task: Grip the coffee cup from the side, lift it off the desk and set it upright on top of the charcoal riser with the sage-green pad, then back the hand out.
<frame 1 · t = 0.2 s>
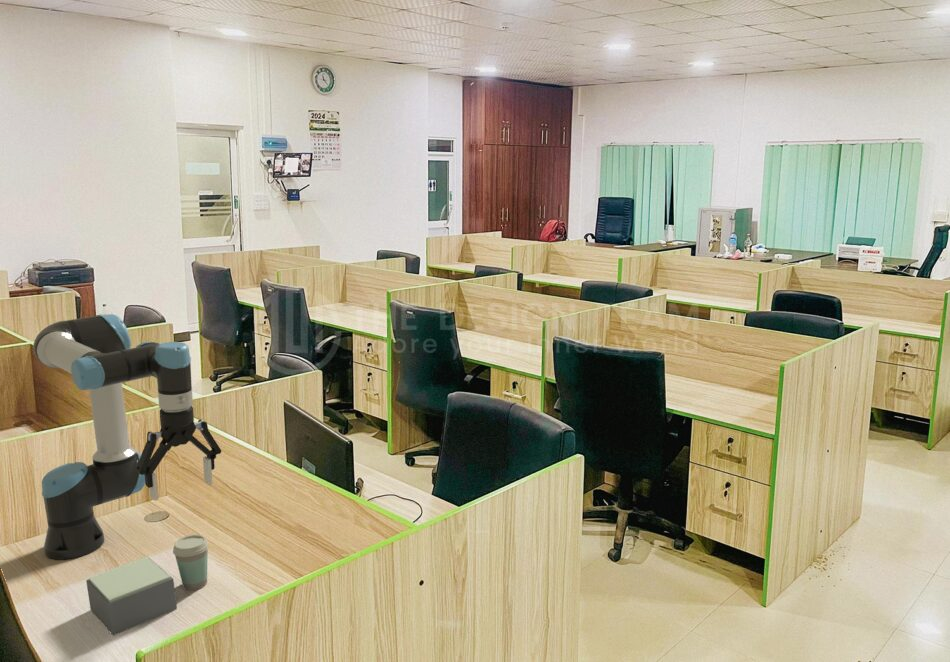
hand: (181, 490, 188), 27 cm above the table, tool pointing down, fingers open, 13 cm apart
coffee cup: (195, 585, 198), on the table
riser: (133, 609, 188), on the table
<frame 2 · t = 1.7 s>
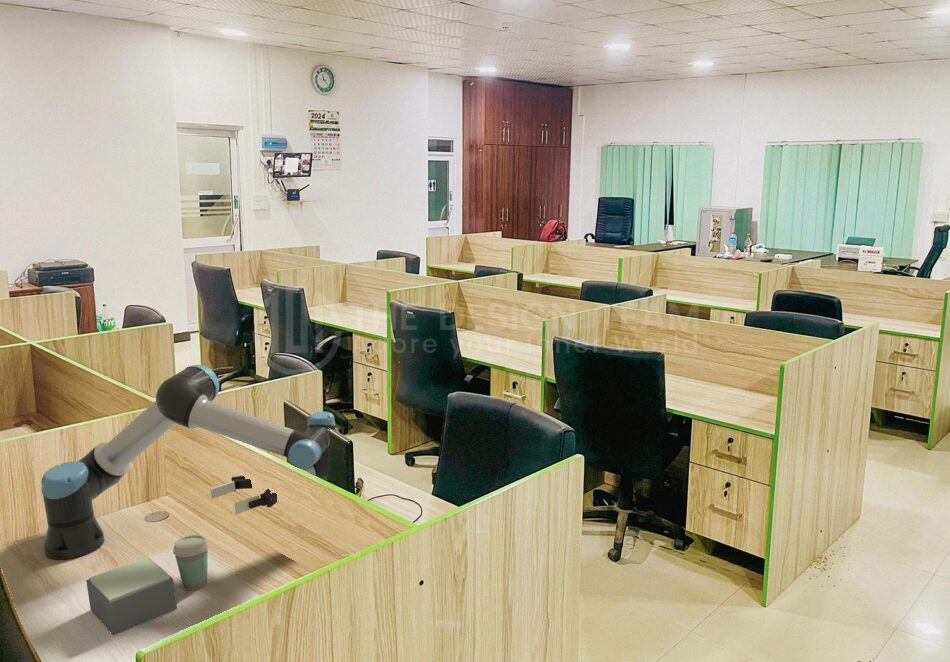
hand: (223, 501, 200), 20 cm above the table, tool horizontal, fingers open, 13 cm apart
nothing on the table moved.
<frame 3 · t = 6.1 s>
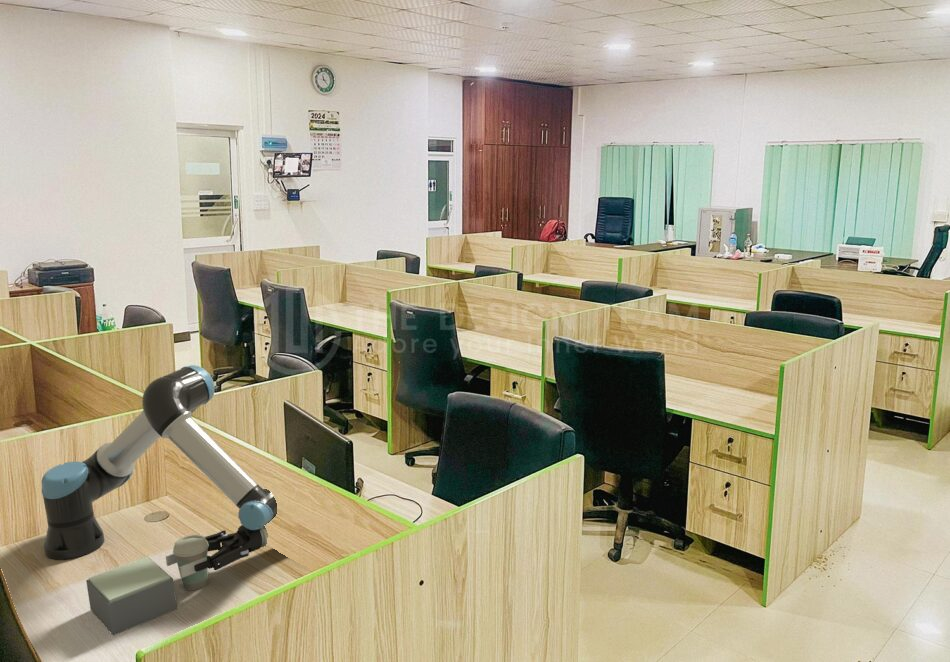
hand: (173, 566, 193), 7 cm above the table, tool horizontal, fingers closed on coffee cup, 8 cm apart
coffee cup: (195, 585, 198), on the table, touching gripper
when the fingers open (17 cm above the table, at t = 11.2 s): coffee cup drops 1 cm, resting on riser.
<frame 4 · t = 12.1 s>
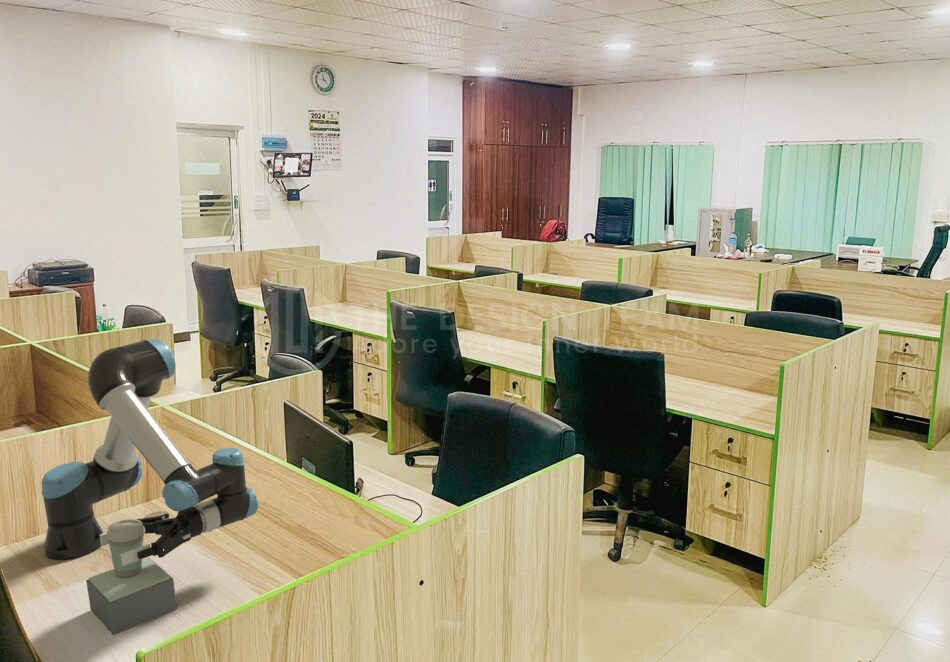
hand: (110, 549, 182), 17 cm above the table, tool horizontal, fingers open, 13 cm apart
coffee cup: (128, 572, 188), point 9 cm above the table, touching gripper, riser
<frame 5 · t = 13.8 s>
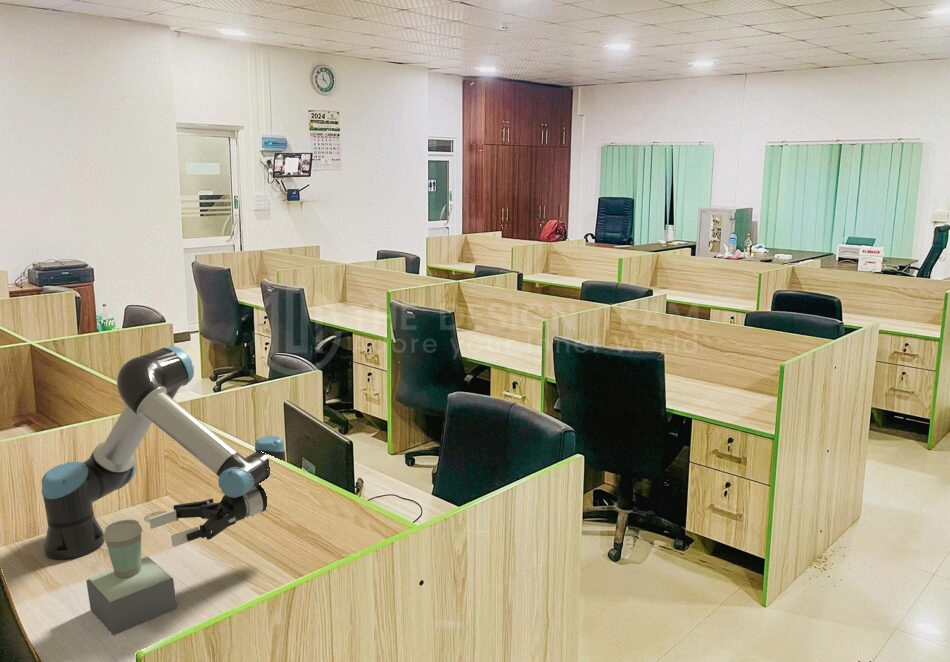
hand: (160, 532, 190), 17 cm above the table, tool horizontal, fingers open, 13 cm apart
coffee cup: (128, 572, 188), point 8 cm above the table, touching riser
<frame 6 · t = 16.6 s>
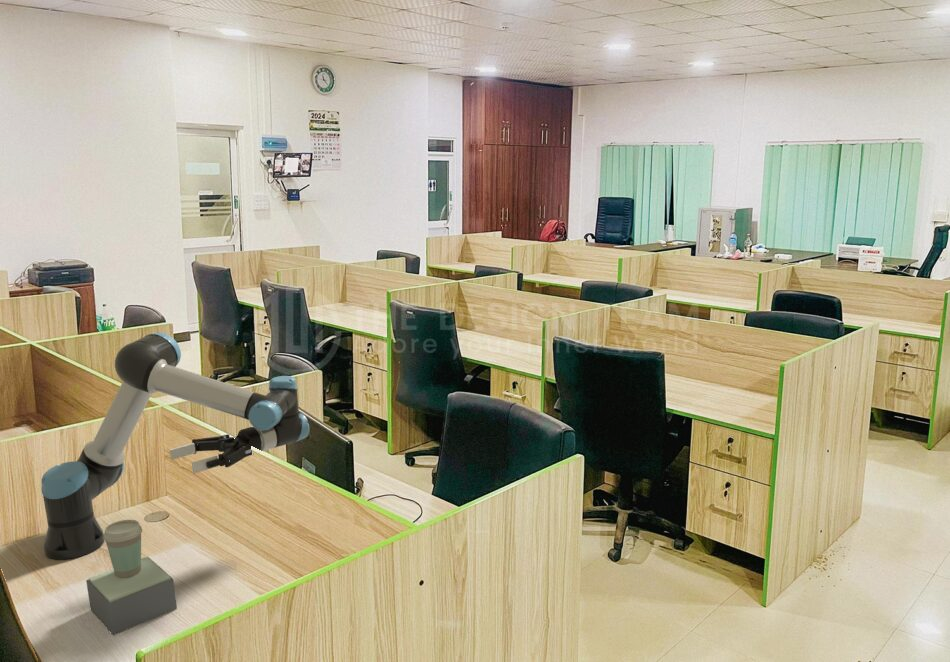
hand: (181, 461, 200), 30 cm above the table, tool horizontal, fingers open, 13 cm apart
nothing on the table moved.
at the end: coffee cup inside the target area on the riser (2.8 cm from its centre), point 8.4 cm above the riser's base; coffee cup tilted 0°; the gripper is holding nothing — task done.
